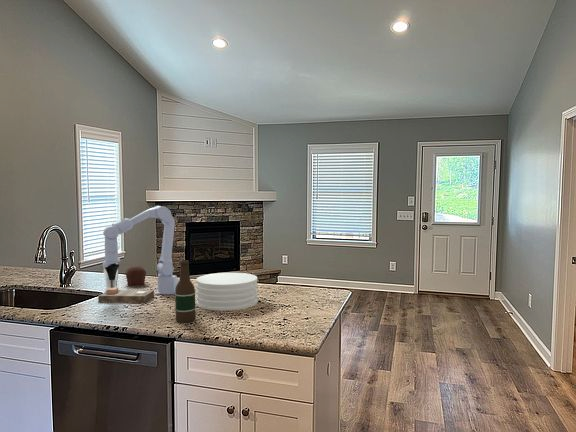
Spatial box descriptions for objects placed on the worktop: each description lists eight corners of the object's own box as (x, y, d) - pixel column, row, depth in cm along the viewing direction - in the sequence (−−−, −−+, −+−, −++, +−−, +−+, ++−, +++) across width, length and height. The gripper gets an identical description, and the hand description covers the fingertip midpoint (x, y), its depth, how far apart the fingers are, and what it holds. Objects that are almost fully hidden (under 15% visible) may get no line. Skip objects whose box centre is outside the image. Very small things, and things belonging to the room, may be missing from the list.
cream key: (146, 297, 211) (146, 291, 210) (143, 299, 207) (143, 293, 206) (138, 297, 211) (138, 291, 211) (135, 299, 207) (135, 293, 207)
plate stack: (219, 293, 221) (219, 270, 221) (268, 299, 209) (268, 275, 208) (183, 306, 196) (183, 281, 196) (236, 313, 184) (236, 286, 183)
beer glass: (113, 294, 220) (112, 264, 219) (101, 293, 221) (100, 264, 220) (121, 291, 226) (120, 262, 226) (109, 290, 228) (108, 261, 227)
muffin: (121, 284, 243) (121, 266, 243) (141, 281, 251) (140, 264, 250) (130, 287, 234) (130, 269, 234) (150, 284, 242) (149, 266, 241)
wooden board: (154, 296, 214) (153, 290, 214) (144, 302, 203) (144, 296, 202) (110, 296, 216) (110, 290, 215) (98, 302, 204) (98, 295, 204)
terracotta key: (118, 293, 211) (118, 287, 211) (114, 295, 207) (114, 289, 207) (110, 293, 211) (110, 287, 211) (106, 295, 207) (106, 289, 207)
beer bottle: (177, 317, 178) (176, 259, 176) (196, 317, 178) (195, 258, 177) (173, 323, 170) (172, 262, 169) (194, 323, 171) (193, 262, 169)
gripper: (110, 249, 216) (110, 276, 216) (95, 253, 201) (96, 282, 202) (124, 249, 215) (124, 276, 216) (110, 253, 201) (111, 283, 202)
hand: (112, 279), depth 209 cm, fingers closed
